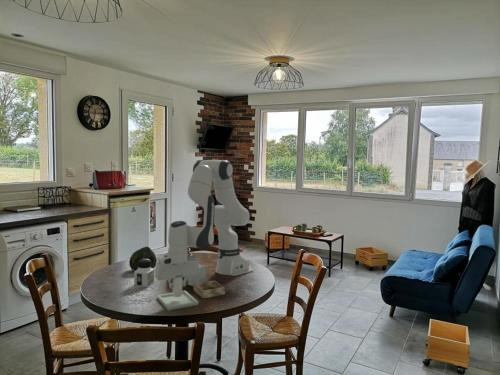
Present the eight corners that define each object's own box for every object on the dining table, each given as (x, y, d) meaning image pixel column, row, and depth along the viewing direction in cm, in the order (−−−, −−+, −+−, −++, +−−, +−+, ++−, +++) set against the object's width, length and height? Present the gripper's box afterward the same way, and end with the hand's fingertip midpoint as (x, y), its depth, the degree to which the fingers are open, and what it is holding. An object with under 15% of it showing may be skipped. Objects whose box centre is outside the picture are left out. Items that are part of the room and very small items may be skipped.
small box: (206, 285, 194) (206, 265, 193) (199, 288, 189) (199, 267, 188) (194, 281, 198) (195, 262, 197) (187, 284, 194) (187, 265, 193)
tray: (185, 293, 181) (185, 290, 181) (198, 305, 167) (198, 301, 167) (157, 298, 174) (157, 295, 174) (168, 310, 160) (168, 307, 160)
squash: (124, 259, 218) (131, 243, 210) (148, 256, 228) (156, 241, 220) (130, 279, 211) (138, 264, 202) (155, 275, 220) (163, 261, 212)
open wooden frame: (214, 287, 191) (214, 280, 191) (224, 294, 181) (225, 287, 181) (193, 290, 185) (193, 283, 185) (203, 298, 175) (203, 291, 175)
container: (147, 287, 188) (147, 262, 187) (133, 286, 189) (133, 261, 188) (154, 282, 195) (154, 258, 194) (141, 281, 197) (141, 257, 196)
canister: (180, 292, 173) (180, 271, 173) (184, 296, 169) (184, 274, 169) (170, 294, 171) (170, 273, 170) (174, 297, 167) (174, 276, 166)
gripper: (196, 253, 177) (195, 281, 178) (154, 257, 166) (153, 287, 167) (201, 256, 171) (201, 285, 173) (158, 261, 161) (158, 292, 162)
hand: (177, 286), depth 170 cm, fingers closed on canister, 4 cm apart
